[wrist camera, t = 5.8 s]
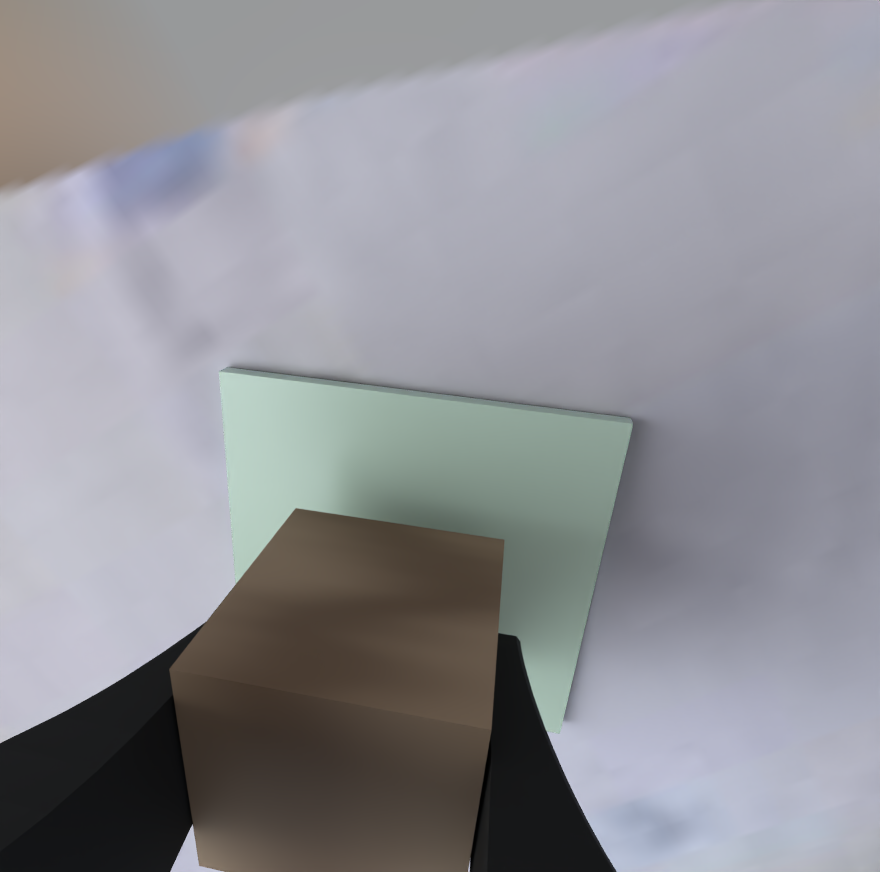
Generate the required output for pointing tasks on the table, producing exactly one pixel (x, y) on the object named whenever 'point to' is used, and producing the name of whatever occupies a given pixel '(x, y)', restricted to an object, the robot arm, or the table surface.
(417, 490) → the green pad
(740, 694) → the table surface
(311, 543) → the walnut cube
